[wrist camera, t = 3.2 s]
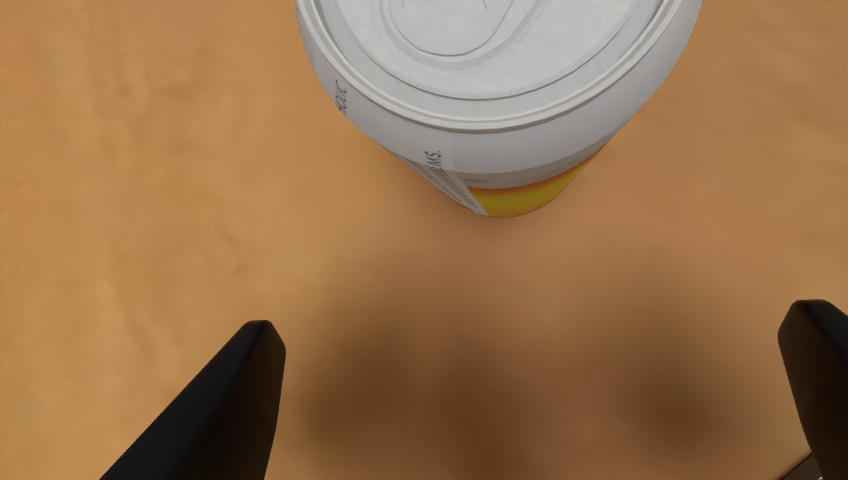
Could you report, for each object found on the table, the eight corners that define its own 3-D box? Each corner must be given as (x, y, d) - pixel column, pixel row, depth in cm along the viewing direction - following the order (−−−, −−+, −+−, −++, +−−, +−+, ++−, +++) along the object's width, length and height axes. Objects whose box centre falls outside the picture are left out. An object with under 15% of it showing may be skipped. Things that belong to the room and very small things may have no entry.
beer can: (608, 112, 21) (850, -218, 6) (531, 245, 21) (577, 249, 6) (475, 46, 22) (395, -385, 7) (404, 174, 22) (186, 33, 7)
